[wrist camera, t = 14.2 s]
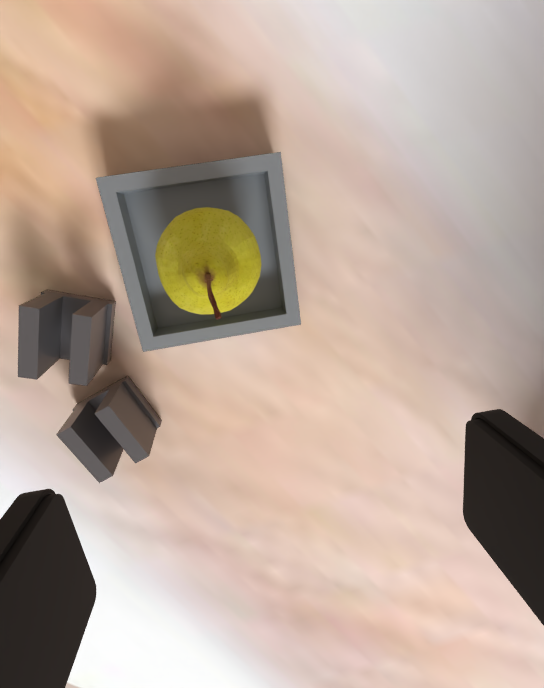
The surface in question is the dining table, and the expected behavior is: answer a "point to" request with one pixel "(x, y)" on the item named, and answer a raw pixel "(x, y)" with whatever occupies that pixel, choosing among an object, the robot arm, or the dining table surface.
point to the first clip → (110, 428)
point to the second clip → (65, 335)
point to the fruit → (208, 261)
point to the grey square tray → (186, 194)
